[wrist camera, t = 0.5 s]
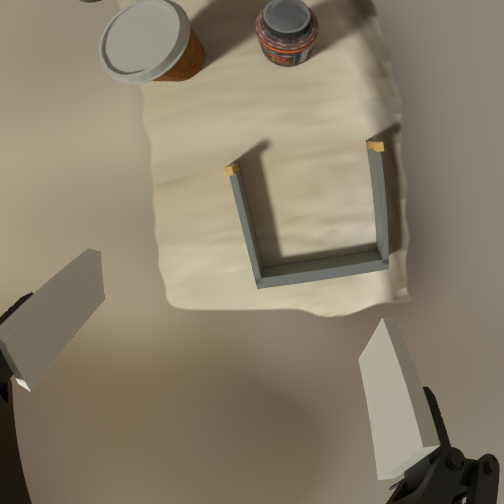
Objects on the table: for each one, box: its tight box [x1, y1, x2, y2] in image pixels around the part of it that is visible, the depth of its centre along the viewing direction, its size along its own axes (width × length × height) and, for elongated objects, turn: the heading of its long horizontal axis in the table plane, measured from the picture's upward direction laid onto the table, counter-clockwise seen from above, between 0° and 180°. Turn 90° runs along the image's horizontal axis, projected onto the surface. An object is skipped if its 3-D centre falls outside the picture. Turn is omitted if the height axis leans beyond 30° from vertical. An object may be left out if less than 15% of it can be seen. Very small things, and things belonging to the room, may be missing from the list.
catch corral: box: [225, 140, 389, 289], centre depth 34 cm, size 16×18×4 cm
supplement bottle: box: [255, 0, 318, 67], centre depth 22 cm, size 6×6×11 cm
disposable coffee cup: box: [98, 0, 205, 85], centre depth 24 cm, size 10×10×12 cm
